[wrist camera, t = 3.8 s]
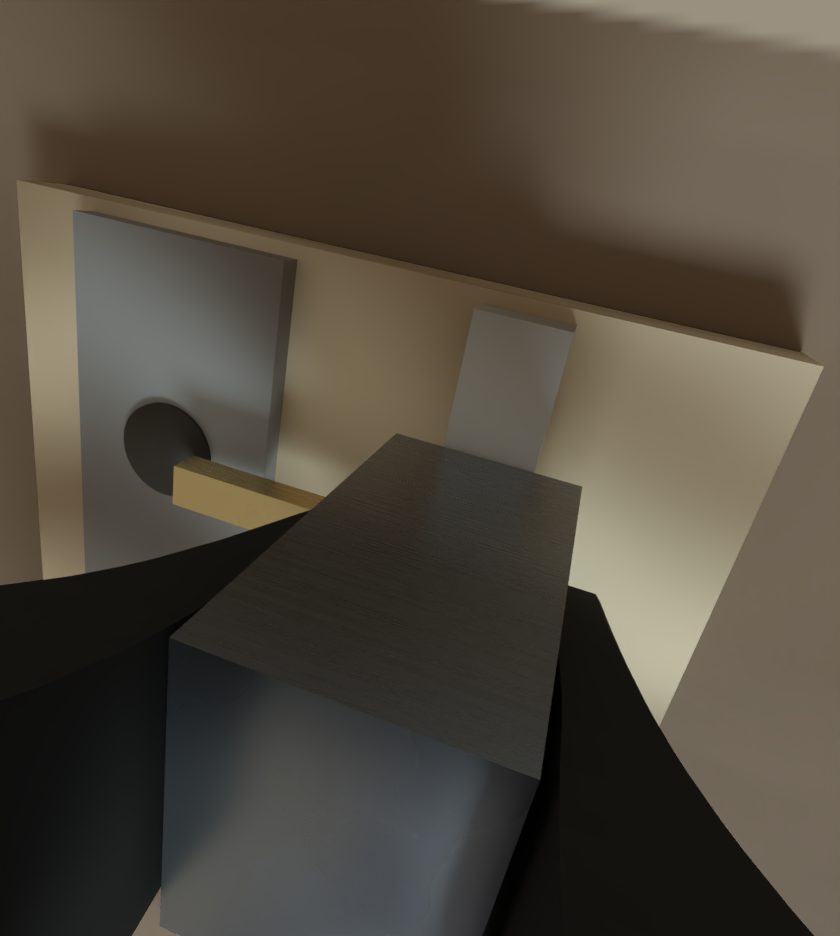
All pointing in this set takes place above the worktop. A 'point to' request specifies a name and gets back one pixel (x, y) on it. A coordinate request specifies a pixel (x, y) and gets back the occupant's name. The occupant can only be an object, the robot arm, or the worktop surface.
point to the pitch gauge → (384, 400)
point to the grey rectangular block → (364, 698)
